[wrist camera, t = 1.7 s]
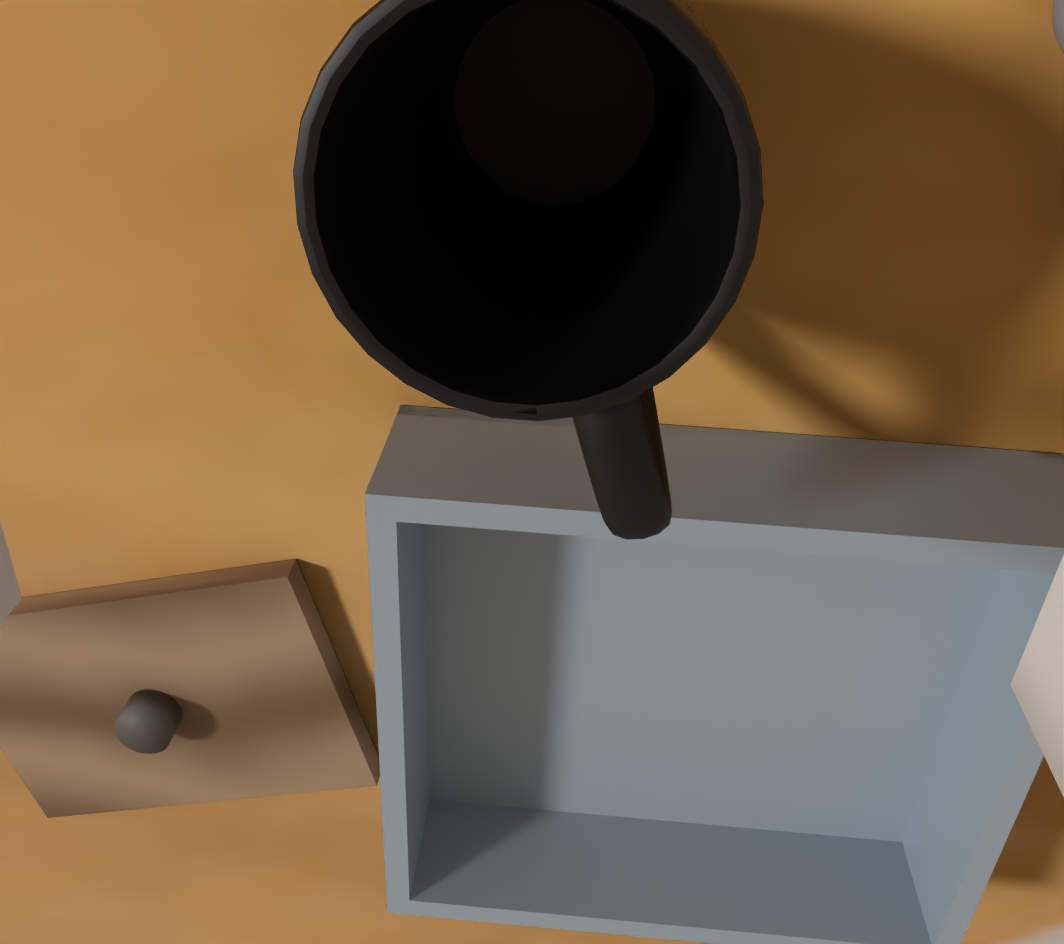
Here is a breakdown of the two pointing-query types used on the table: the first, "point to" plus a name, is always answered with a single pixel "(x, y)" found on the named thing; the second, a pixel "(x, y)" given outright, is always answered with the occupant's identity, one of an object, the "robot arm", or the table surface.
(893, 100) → the table surface
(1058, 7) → the pebble
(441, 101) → the mug
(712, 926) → the bin
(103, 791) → the lid
